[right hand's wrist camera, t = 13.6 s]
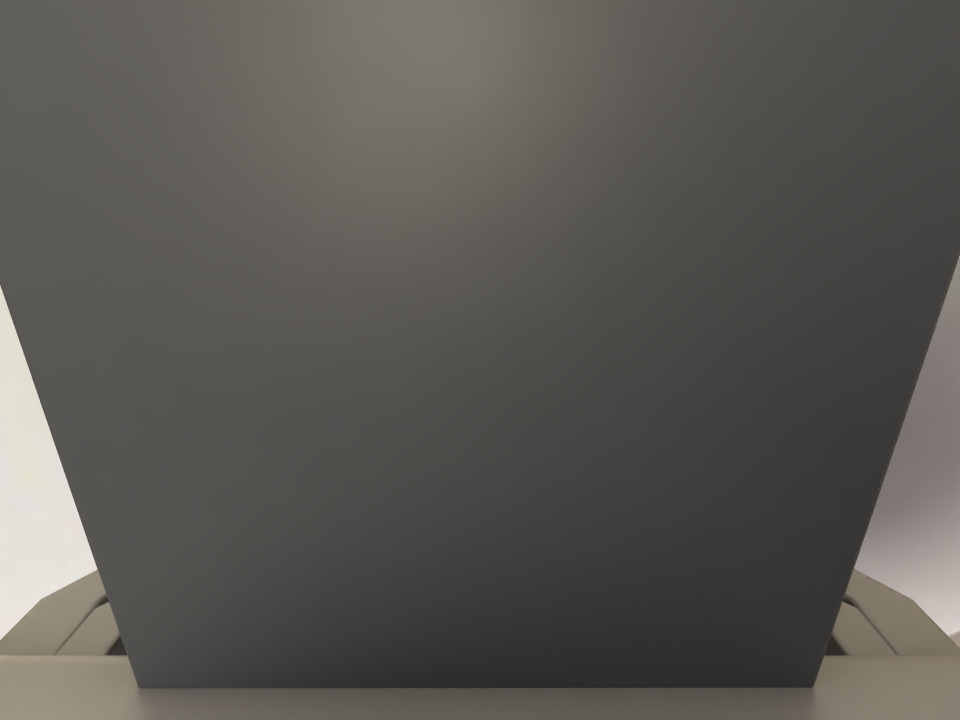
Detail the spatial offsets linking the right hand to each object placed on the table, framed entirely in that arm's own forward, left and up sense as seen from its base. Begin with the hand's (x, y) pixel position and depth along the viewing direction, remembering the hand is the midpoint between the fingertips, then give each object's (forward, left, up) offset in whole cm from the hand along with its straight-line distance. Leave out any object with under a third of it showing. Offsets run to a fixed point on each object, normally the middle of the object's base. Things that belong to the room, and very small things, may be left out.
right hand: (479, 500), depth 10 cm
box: (+3, -9, -6) cm, 11 cm away
